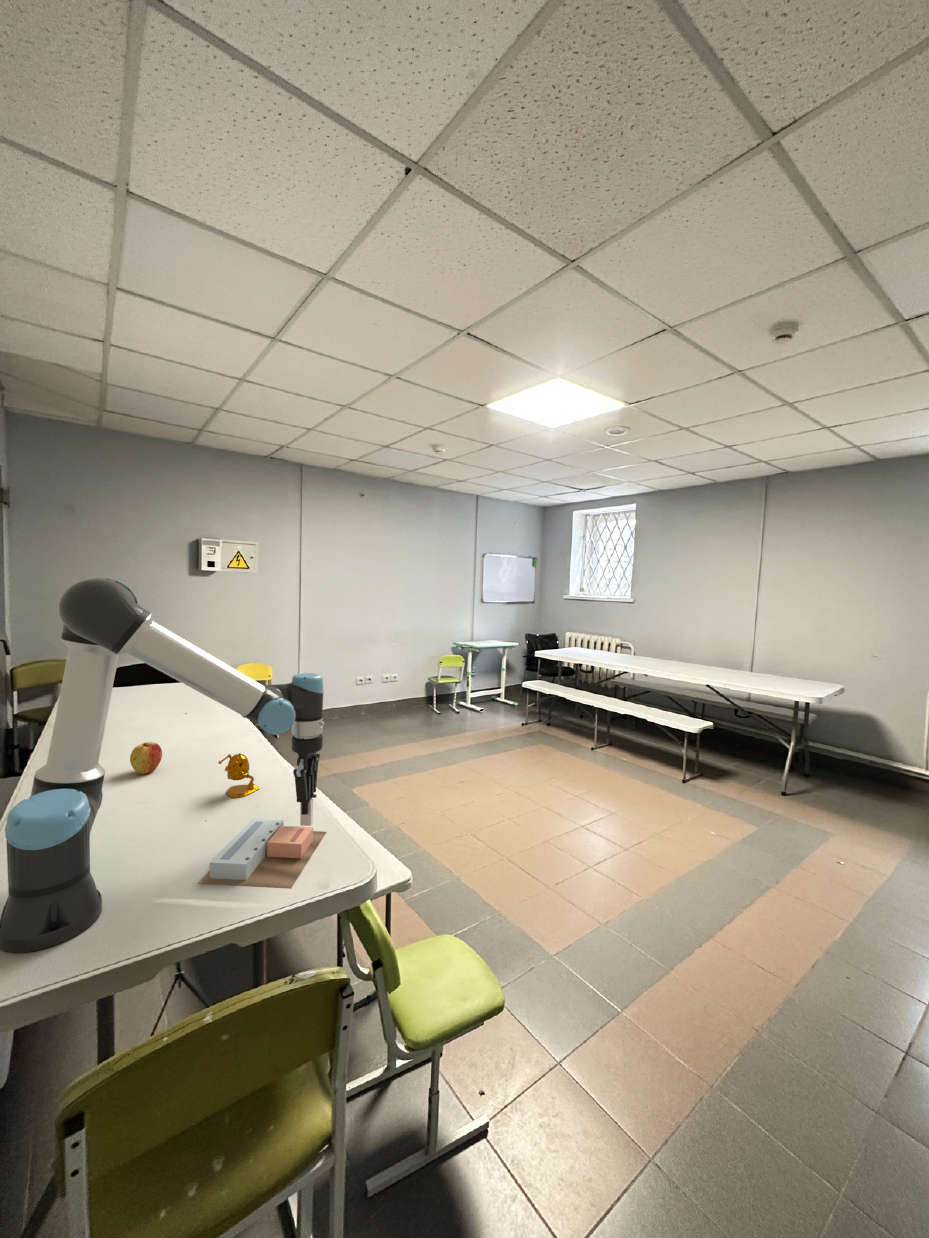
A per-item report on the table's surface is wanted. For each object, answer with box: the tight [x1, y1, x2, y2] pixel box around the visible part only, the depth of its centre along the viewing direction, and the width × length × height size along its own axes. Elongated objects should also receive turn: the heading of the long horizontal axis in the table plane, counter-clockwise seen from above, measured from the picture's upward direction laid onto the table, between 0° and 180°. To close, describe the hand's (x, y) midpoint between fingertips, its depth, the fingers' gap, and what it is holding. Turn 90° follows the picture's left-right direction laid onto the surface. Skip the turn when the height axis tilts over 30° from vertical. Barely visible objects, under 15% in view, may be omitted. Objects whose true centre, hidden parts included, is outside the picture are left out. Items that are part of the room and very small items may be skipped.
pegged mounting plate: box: [209, 818, 285, 880], centre depth 116 cm, size 20×8×4 cm, turn 178°
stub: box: [267, 825, 314, 858], centre depth 119 cm, size 8×8×4 cm
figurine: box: [217, 753, 260, 799], centre depth 152 cm, size 8×11×12 cm
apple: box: [129, 741, 163, 775], centre depth 165 cm, size 9×9×10 cm
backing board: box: [197, 830, 328, 889], centre depth 116 cm, size 24×20×1 cm
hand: (306, 824), depth 128 cm, fingers closed
